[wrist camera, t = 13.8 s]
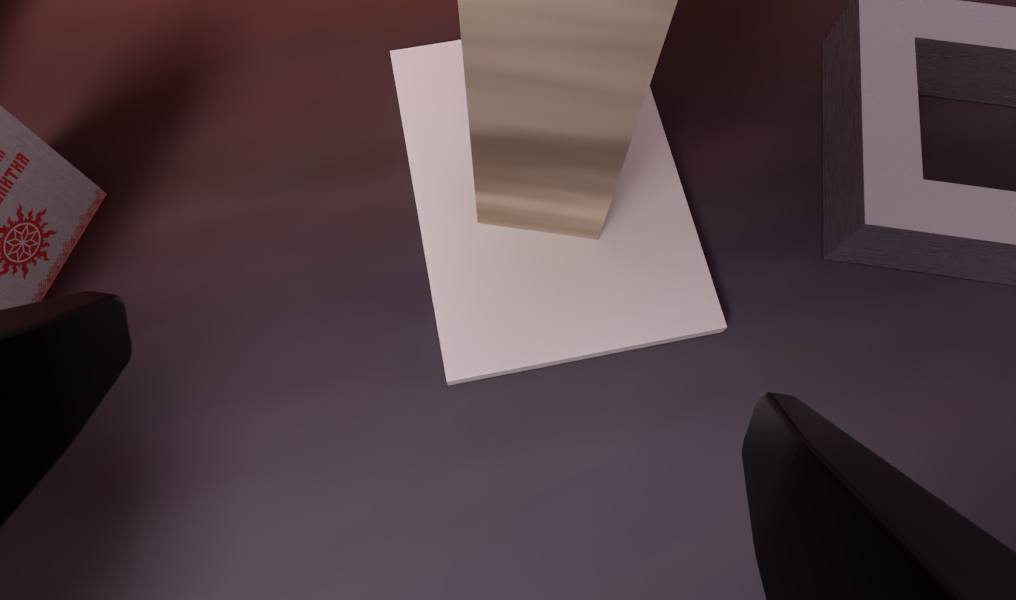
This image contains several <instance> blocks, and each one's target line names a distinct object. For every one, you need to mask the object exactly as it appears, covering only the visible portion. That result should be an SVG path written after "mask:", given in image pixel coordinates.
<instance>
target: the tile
mask: <svg viewBox="0 0 1016 600" xmlns="http://www.w3.org/2000/svg"><path fill="white" fill-rule="evenodd" d="M390 54H391V60H392V66H393V72H394V78H395V83H396V89H397V95H398V101H399V107H400V113H401V118H402V124H403V130H404V136H405V142H406V148H407V153H408V159H409V165H410V171H411V177H412V183H413V188H414V194H415V200H416V206H417V212H418V218H419V223H420V229H421V235H422V241H423V247H424V252H425V258H426V264H427V270H428V276H429V282H430V287H431V293H432V299H433V305H434V311H435V317H436V322H437V328H438V334H439V340H440V346H441V352H442V357H443V363H444V369H445V375H446V381H447V384H448V385H454V384H459V383H464V382H469V381H474V380H479V379H484V378H489V377H495V376H500V375H505V374H510V373H515V372H520V371H525V370H530V369H536V368H541V367H546V366H551V365H556V364H561V363H566V362H571V361H576V360H582V359H587V358H592V357H597V356H602V355H607V354H612V353H617V352H623V351H628V350H633V349H638V348H643V347H648V346H653V345H658V344H664V343H669V342H674V341H679V340H684V339H689V338H694V337H699V336H705V335H710V334H715V333H720V332H723V331H724V330H725V329H726V328H727V325H726V322H725V319H724V316H723V312H722V309H721V306H720V303H719V300H718V297H717V294H716V291H715V287H714V284H713V281H712V278H711V275H710V272H709V269H708V266H707V263H706V259H705V256H704V253H703V250H702V247H701V244H700V241H699V238H698V235H697V231H696V228H695V225H694V222H693V219H692V216H691V213H690V210H689V207H688V203H687V200H686V197H685V194H684V191H683V188H682V185H681V182H680V179H679V175H678V172H677V169H676V166H675V163H674V160H673V157H672V154H671V151H670V147H669V144H668V141H667V138H666V135H665V132H664V129H663V126H662V123H661V119H660V116H659V113H658V110H657V107H656V104H655V101H654V98H653V95H652V91H651V88H650V86H649V89H648V92H647V95H646V98H645V101H644V104H643V107H642V110H641V113H640V116H639V119H638V122H637V125H636V128H635V131H634V134H633V137H632V140H631V143H630V146H629V149H628V152H627V155H626V158H625V161H624V164H623V167H622V170H621V173H620V176H619V179H618V182H617V185H616V188H615V191H614V194H613V197H612V200H611V203H610V206H609V209H608V212H607V215H606V218H605V221H604V224H603V227H602V230H601V233H600V236H599V239H598V240H596V239H589V238H582V237H575V236H568V235H560V234H553V233H546V232H539V231H531V230H524V229H517V228H510V227H502V226H495V225H488V224H481V223H478V221H477V210H476V199H475V188H474V177H473V165H472V154H471V143H470V132H469V121H468V109H467V98H466V87H465V76H464V65H463V53H462V42H461V40H456V41H449V42H443V43H437V44H431V45H424V46H418V47H412V48H405V49H399V50H393V51H390Z"/></svg>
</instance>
